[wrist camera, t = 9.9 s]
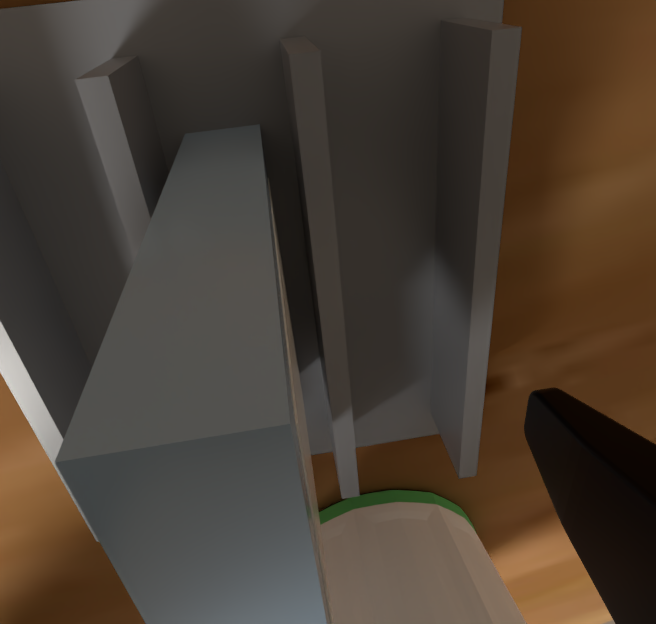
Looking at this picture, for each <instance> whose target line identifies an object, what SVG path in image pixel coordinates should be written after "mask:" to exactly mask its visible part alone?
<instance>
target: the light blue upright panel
mask: <svg viewBox="0 0 656 624" xmlns="http://www.w3.org/2000/svg"><path fill="white" fill-rule="evenodd" d="M55 464H56V466H57V468H58V469H59V471H60V473H61V475H62V476H63V478H64V480H65V482H66V484H67V485H68V487H69V489H70V491H71V492H72V494H73V496H74V498H75V499H76V501H77V503H78V505H79V507H80V508H81V510H82V512H83V514H84V515H85V517H86V519H87V521H88V523H89V524H90V526H91V528H92V530H93V531H94V533H95V535H96V537H97V538H98V540H99V542H100V544H101V546H102V547H103V549H104V551H105V553H106V554H107V556H108V558H109V560H110V561H111V563H112V565H113V567H114V569H115V570H116V572H117V574H118V576H119V577H120V579H121V581H122V583H123V584H124V586H125V588H126V590H127V592H128V593H129V595H130V597H131V599H132V600H133V602H134V604H135V606H136V607H137V609H138V611H139V613H140V615H141V616H142V618H143V620H144V622H145V623H146V624H334V620H333V612H332V605H331V598H330V591H329V583H328V576H327V569H326V562H325V554H324V547H323V540H322V533H321V526H320V518H319V511H318V504H317V497H316V489H315V482H314V475H313V468H312V460H311V453H310V446H309V439H308V431H307V424H306V417H305V410H304V402H303V395H302V388H301V381H300V374H299V367H298V360H297V354H296V348H295V341H294V335H293V329H292V322H291V316H290V310H289V303H288V297H287V291H286V284H285V278H284V271H283V265H282V259H281V252H280V246H279V240H278V233H277V227H276V221H275V214H274V208H273V202H272V195H271V189H270V183H269V178H268V173H267V166H266V160H265V154H264V147H263V141H262V135H261V128H260V124H258V125H250V126H242V127H234V128H226V129H218V130H210V131H202V132H195V133H187V134H185V135H184V138H183V140H182V143H181V145H180V148H179V150H178V153H177V155H176V158H175V160H174V163H173V165H172V168H171V170H170V173H169V175H168V178H167V180H166V183H165V185H164V188H163V190H162V193H161V195H160V198H159V201H158V203H157V206H156V208H155V211H154V213H153V216H152V218H151V221H150V223H149V226H148V228H147V231H146V233H145V236H144V238H143V241H142V243H141V246H140V248H139V251H138V253H137V256H136V258H135V261H134V264H133V266H132V269H131V271H130V274H129V276H128V279H127V281H126V284H125V286H124V289H123V291H122V294H121V296H120V299H119V301H118V304H117V306H116V309H115V311H114V314H113V316H112V319H111V321H110V324H109V326H108V329H107V332H106V334H105V337H104V339H103V342H102V344H101V347H100V349H99V352H98V354H97V357H96V359H95V362H94V364H93V367H92V369H91V372H90V374H89V377H88V379H87V382H86V384H85V387H84V389H83V392H82V394H81V397H80V400H79V402H78V405H77V407H76V410H75V412H74V415H73V417H72V420H71V422H70V425H69V427H68V430H67V432H66V435H65V437H64V440H63V442H62V445H61V447H60V450H59V452H58V455H57V457H56V460H55Z"/></svg>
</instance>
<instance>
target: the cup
mask: <svg viewBox="0 0 656 624" xmlns="http://www.w3.org/2000/svg"><path fill="white" fill-rule="evenodd" d="M319 518H320V526H321V533H322V540H323V547H324V554H325V562H326V569H327V576H328V583H329V591H330V598H331V605H332V612H333V620H334V624H527V623H526V621H525V620H524V618H523V616H522V614H521V612H520V611H519V609H518V607H517V605H516V603H515V602H514V600H513V598H512V596H511V594H510V593H509V591H508V589H507V587H506V585H505V584H504V582H503V580H502V578H501V576H500V575H499V573H498V571H497V569H496V567H495V566H494V564H493V562H492V560H491V558H490V557H489V555H488V553H487V551H486V550H485V548H484V546H483V544H482V542H481V541H480V539H479V537H478V535H477V533H476V531H475V528H474V526H473V524H472V523H471V521H470V520H469V518H468V517H467V515H466V514H465V513H464V512H463V510H462V509H461V508H460V507H459V506H457V505H456V504H454V503H452V502H450V501H449V500H447V499H445V498H442V497H440V496H438V495H436V494H433V493H430V492H420V491H410V490H387V491H380V492H373V493H368V494H363V495H360V496H357V497H351V498H347V499H345V500H343V501H341V502H338V503H336V504H334V505H332V506H330V507H328V508H326V509H324V510H322V511H320V512H319Z"/></svg>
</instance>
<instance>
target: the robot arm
mask: <svg viewBox="0 0 656 624" xmlns="http://www.w3.org/2000/svg"><path fill="white" fill-rule="evenodd" d="M524 431H525V436H526V440H527V442H528V445H529V447H530V449H531V452H532V454H533V457H534V459H535V462H536V464H537V466H538V469H539V471H540V474H541V476H542V478H543V481H544V483H545V486H546V488H547V491H548V493H549V495H550V498H551V500H552V503H553V505H554V508H555V510H556V512H557V514H558V517H559V519H560V521H561V523H562V525H563V527H564V529H565V531H566V533H567V535H568V537H569V539H570V541H571V543H572V545H573V546H574V548H575V550H576V552H577V554H578V556H579V557H580V559H581V561H582V563H583V565H584V567H585V568H586V570H587V572H588V574H589V576H590V578H591V579H592V581H593V583H594V585H595V587H596V589H597V590H598V592H599V594H600V596H601V598H602V600H603V601H604V603H605V605H606V607H607V609H608V611H609V612H610V614H611V616H612V618H613V620H614V622H615V624H656V444H654V443H652V442H650V441H649V440H647V439H645V438H644V437H642V436H640V435H638V434H637V433H635V432H633V431H631V430H630V429H628V428H626V427H625V426H623V425H621V424H619V423H618V422H616V421H614V420H612V419H611V418H609V417H607V416H605V415H604V414H602V413H600V412H599V411H597V410H595V409H593V408H592V407H590V406H588V405H586V404H585V403H583V402H581V401H579V400H578V399H576V398H574V397H573V396H571V395H569V394H567V393H566V392H564V391H562V390H560V389H558V388H547V389H541V390H535V391H533V392H532V393H531V394H530V396H529V400H528V406H527V412H526V418H525V424H524Z"/></svg>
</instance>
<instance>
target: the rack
mask: <svg viewBox="0 0 656 624" xmlns="http://www.w3.org/2000/svg"><path fill="white" fill-rule="evenodd" d="M503 6H504V0H78V1H69V2H60V3H50V4H41V5H32V6H23V7H13V8H4V9H0V373H1V374H2V376H3V378H4V380H5V381H6V383H7V385H8V387H9V388H10V390H11V392H12V394H13V395H14V397H15V399H16V401H17V402H18V404H19V406H20V408H21V409H22V411H23V413H24V415H25V416H26V418H27V420H28V422H29V424H30V425H31V427H32V429H33V431H34V432H35V434H36V436H37V438H38V439H39V441H40V443H41V445H42V446H43V448H44V450H45V452H46V453H47V455H48V457H49V459H50V460H51V462H52V464H53V466H54V468H55V469H56V471H57V473H58V475H59V476H60V478H61V480H62V482H63V483H64V485H65V487H66V489H67V490H68V492H69V494H70V496H71V497H72V499H73V501H74V503H75V504H76V506H77V508H78V510H79V511H80V513H81V515H82V517H83V519H84V520H85V522H86V524H87V526H88V527H89V529H90V531H91V533H92V534H93V536H94V538H95V540H96V541H97V542H98V541H99V540H98V538H97V537H96V535H95V533H94V531H93V530H92V528H91V526H90V524H89V523H88V521H87V519H86V517H85V515H84V514H83V512H82V510H81V508H80V507H79V505H78V503H77V501H76V499H75V498H74V496H73V494H72V492H71V491H70V489H69V487H68V485H67V484H66V482H65V480H64V478H63V476H62V475H61V473H60V471H59V469H58V468H57V466H56V464H55V460H56V457H57V455H58V452H59V450H60V447H61V445H62V442H63V440H64V437H65V435H66V432H67V430H68V427H69V425H70V422H71V420H72V417H73V415H74V412H75V410H76V407H77V405H78V402H79V400H80V397H81V394H82V392H83V389H84V387H85V384H86V382H87V379H88V377H89V374H90V372H91V369H92V367H93V364H94V362H95V359H96V357H97V354H98V352H99V349H100V347H101V344H102V342H103V339H104V337H105V334H106V332H107V329H108V326H109V324H110V321H111V319H112V316H113V314H114V311H115V309H116V306H117V304H118V301H119V299H120V296H121V294H122V291H123V289H124V286H125V284H126V281H127V279H128V276H129V274H130V271H131V269H132V266H133V264H134V261H135V258H136V256H137V253H138V251H139V248H140V246H141V243H142V241H143V238H144V236H145V233H146V231H147V228H148V226H149V223H150V221H151V218H152V216H153V213H154V211H155V208H156V206H157V203H158V201H159V198H160V195H161V193H162V190H163V188H164V185H165V183H166V180H167V178H168V175H169V173H170V170H171V168H172V165H173V163H174V160H175V158H176V155H177V153H178V150H179V148H180V145H181V143H182V140H183V138H184V135H185V134H187V133H195V132H202V131H210V130H218V129H226V128H234V127H242V126H250V125H258V124H260V128H261V135H262V141H263V147H264V154H265V160H266V166H267V173H268V178H269V183H270V189H271V195H272V202H273V208H274V214H275V221H276V227H277V233H278V240H279V246H280V252H281V259H282V265H283V271H284V278H285V284H286V291H287V297H288V303H289V310H290V316H291V322H292V329H293V335H294V341H295V348H296V354H297V360H298V367H299V374H300V381H301V388H302V395H303V402H304V410H305V417H306V424H307V431H308V439H309V446H310V453H311V455H316V454H322V453H328V452H333V455H334V460H335V466H336V471H337V476H338V482H339V487H340V492H341V498H342V499H345V498H351V497H357V496H360V493H359V482H358V471H357V459H356V448H358V447H364V446H370V445H376V444H381V443H387V442H393V441H399V440H405V439H411V438H417V437H423V436H429V435H435V434H440V436H441V438H442V440H443V443H444V445H445V447H446V450H447V452H448V454H449V457H450V459H451V461H452V464H453V466H454V468H455V471H456V473H457V475H458V478H459V479H460V478H466V477H472V476H476V475H477V465H478V455H479V445H480V436H481V426H482V416H483V406H484V396H485V386H486V377H487V367H488V357H489V347H490V337H491V328H492V318H493V308H494V298H495V288H496V278H497V269H498V259H499V249H500V239H501V229H502V219H503V210H504V200H505V190H506V180H507V170H508V160H509V151H510V141H511V131H512V121H513V111H514V102H515V92H516V82H517V72H518V62H519V52H520V43H521V33H522V27H519V26H513V25H507V24H502V18H503Z"/></svg>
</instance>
